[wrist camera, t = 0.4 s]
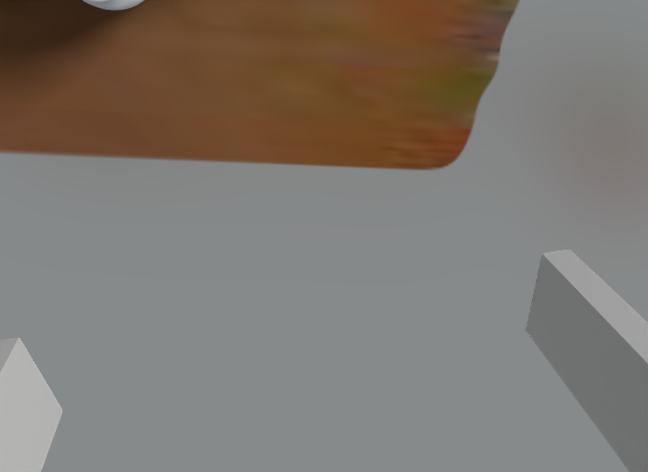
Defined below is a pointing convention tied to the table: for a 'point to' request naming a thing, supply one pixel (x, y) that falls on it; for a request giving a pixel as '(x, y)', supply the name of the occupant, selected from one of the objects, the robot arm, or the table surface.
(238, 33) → the table surface
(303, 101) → the table surface
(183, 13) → the table surface
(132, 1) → the pill bottle
